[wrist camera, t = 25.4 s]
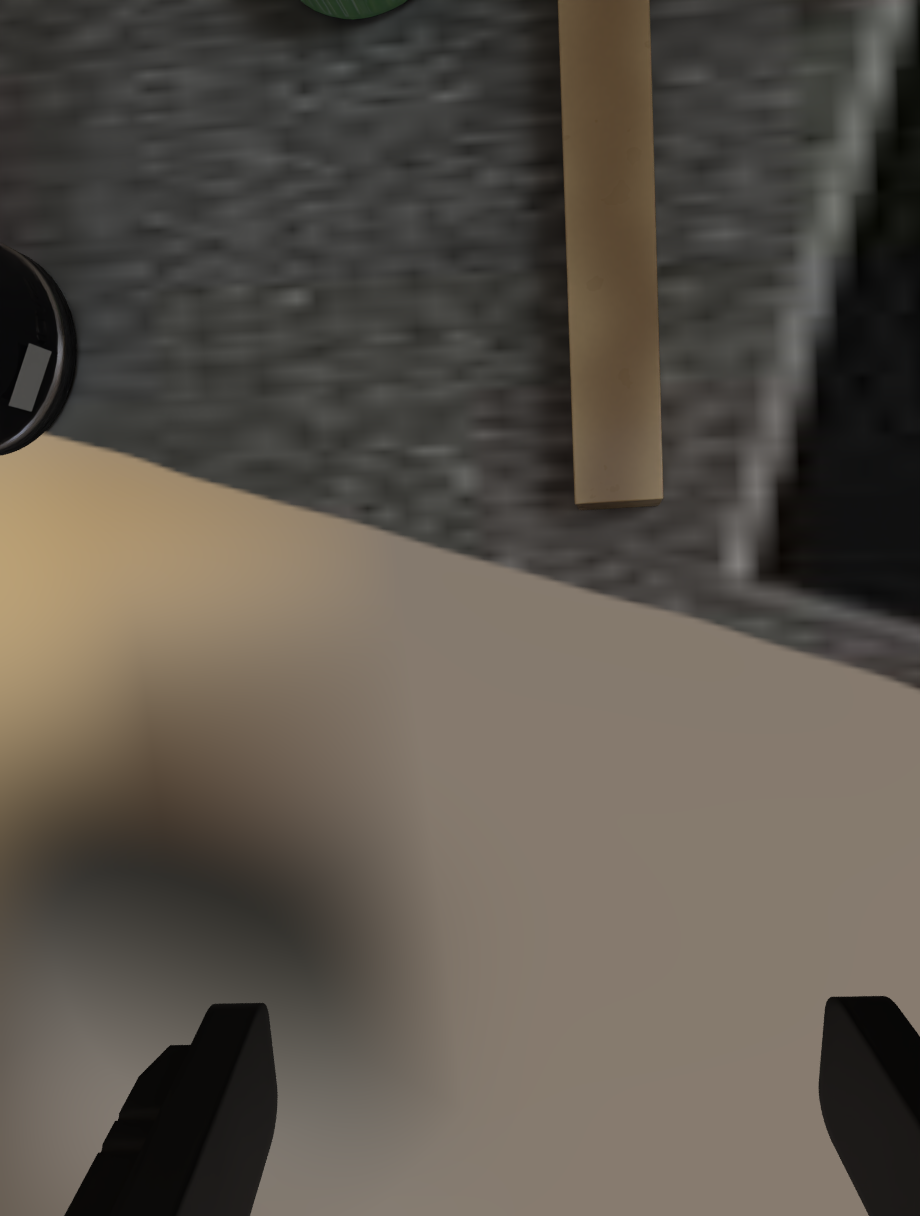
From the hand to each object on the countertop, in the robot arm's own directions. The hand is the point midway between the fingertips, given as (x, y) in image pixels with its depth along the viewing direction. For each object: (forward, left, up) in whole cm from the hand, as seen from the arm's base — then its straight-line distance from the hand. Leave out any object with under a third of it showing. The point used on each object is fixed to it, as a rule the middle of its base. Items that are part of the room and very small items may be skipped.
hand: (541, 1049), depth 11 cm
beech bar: (+1, +20, -19) cm, 27 cm away
